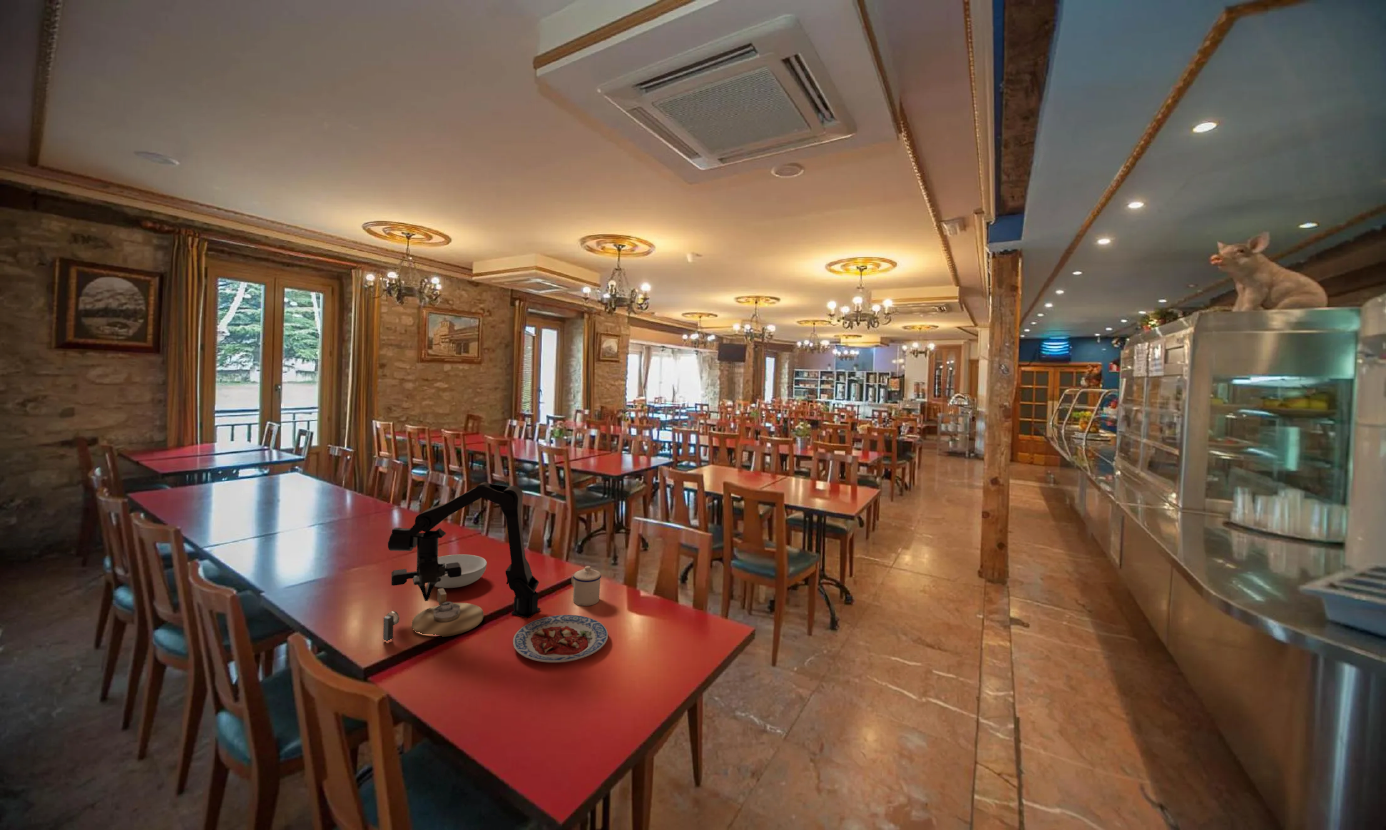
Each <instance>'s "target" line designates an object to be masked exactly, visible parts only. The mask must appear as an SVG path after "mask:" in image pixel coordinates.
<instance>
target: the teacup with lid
mask: <svg viewBox="0 0 1386 830" xmlns="http://www.w3.org/2000/svg"><path fill="white" fill-rule="evenodd" d="M601 579H602V574H601V572H600V571H599V570H595V569H593V568H591V566H590V565H586V566H585V567H584V568H582V569H580V570H578V571H575V572H574V574H573V575H572V576H571V586H572V588H573V592H572V593H573V594H572V595H573V597H572V600H573V603H574V604H575V605H578V606H583V607H588V606H589V607H591V606H593V605H596V604H597V603H599V600H600V594H601V593H600V592H601V590H600V589H601V587H600V586H601Z"/></svg>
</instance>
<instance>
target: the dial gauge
mask: <svg viewBox="0 0 1386 830" xmlns="http://www.w3.org/2000/svg"><path fill="white" fill-rule="evenodd" d="M398 623H400V615H399V613H398V611H395V610H392V611H390V612H388V613H387V614H386V616H384V617H383V632H382V633H383V634H382V635H383V637H382V640H383V639H384V640H386V641H388V640H390V639H392V638H393V639H394V626H396V625H397V624H398Z"/></svg>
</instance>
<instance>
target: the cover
mask: <svg viewBox="0 0 1386 830" xmlns="http://www.w3.org/2000/svg"><path fill="white" fill-rule="evenodd" d="M453 603H454V602H453V601H446V602H444V603H442V604H441V605H440V606H438V605H437V606H438V607H436V608H435V609H434V621H436V622H439V623H446V622H451V621H454V620H456V619H458V618H459V617H460V606H459V605H457V604H453Z"/></svg>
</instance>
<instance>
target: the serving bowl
mask: <svg viewBox="0 0 1386 830" xmlns="http://www.w3.org/2000/svg"><path fill="white" fill-rule="evenodd" d="M456 562H458V563H459V564H460V566H461V570H462V571H461V576H459V577H452V578H450V577H449V576H448V574H445V575H444V576H442V577H440V578H441V581H440V582H437V583H436V584H435V585H434V587H436V588H439V589H441V588H443V589H453V588H455V589H456V588H461V587H465V586H468V585H471V584H473V583H475V582H477V581H478V580H479V579H480V578H482V576H483V575H484V573H485V572H486V569H487V565H488V562H487V560H486V559H485V558H484V557H482V556H479V555H474V554H466V553H465V554H463V553H461V554H459V553H458V554H449V555H442V556H438V564H444V563H445V567H446V564H448V563H456Z"/></svg>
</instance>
